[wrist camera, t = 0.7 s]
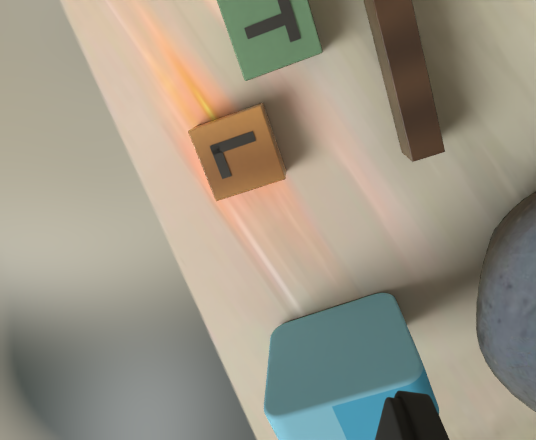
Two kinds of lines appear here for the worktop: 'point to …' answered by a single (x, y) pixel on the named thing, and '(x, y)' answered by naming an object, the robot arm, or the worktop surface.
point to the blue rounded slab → (341, 370)
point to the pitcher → (511, 302)
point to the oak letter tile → (238, 152)
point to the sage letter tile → (270, 33)
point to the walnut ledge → (405, 76)
